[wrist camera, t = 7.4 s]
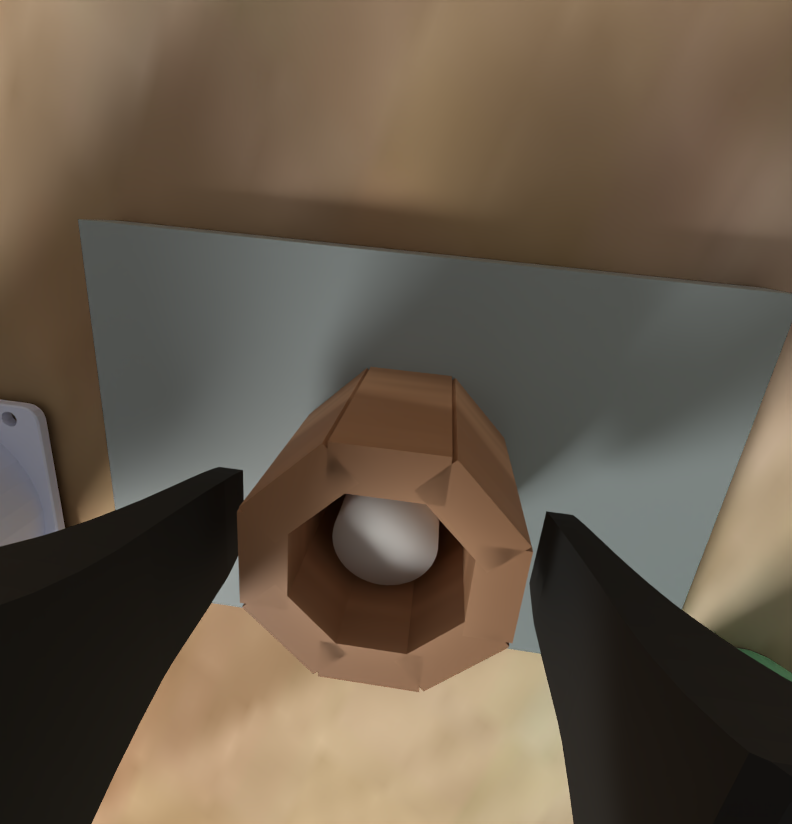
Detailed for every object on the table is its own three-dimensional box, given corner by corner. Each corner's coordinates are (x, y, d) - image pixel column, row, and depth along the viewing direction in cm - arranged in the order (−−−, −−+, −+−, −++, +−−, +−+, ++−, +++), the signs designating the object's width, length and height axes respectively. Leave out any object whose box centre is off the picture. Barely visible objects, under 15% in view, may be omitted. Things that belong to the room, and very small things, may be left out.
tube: (305, 532, 15) (241, 663, 11) (309, 359, 13) (233, 430, 9) (483, 557, 15) (498, 704, 10) (515, 383, 13) (551, 469, 8)
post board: (150, 562, 18) (49, 675, 14) (114, 220, 14) (-50, 216, 9) (641, 635, 17) (711, 786, 13) (764, 288, 13) (939, 321, 8)
